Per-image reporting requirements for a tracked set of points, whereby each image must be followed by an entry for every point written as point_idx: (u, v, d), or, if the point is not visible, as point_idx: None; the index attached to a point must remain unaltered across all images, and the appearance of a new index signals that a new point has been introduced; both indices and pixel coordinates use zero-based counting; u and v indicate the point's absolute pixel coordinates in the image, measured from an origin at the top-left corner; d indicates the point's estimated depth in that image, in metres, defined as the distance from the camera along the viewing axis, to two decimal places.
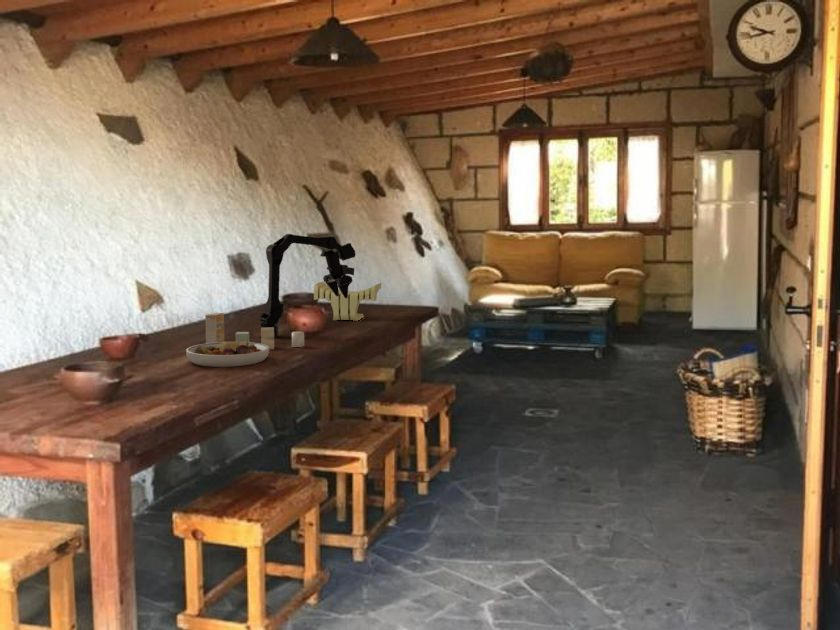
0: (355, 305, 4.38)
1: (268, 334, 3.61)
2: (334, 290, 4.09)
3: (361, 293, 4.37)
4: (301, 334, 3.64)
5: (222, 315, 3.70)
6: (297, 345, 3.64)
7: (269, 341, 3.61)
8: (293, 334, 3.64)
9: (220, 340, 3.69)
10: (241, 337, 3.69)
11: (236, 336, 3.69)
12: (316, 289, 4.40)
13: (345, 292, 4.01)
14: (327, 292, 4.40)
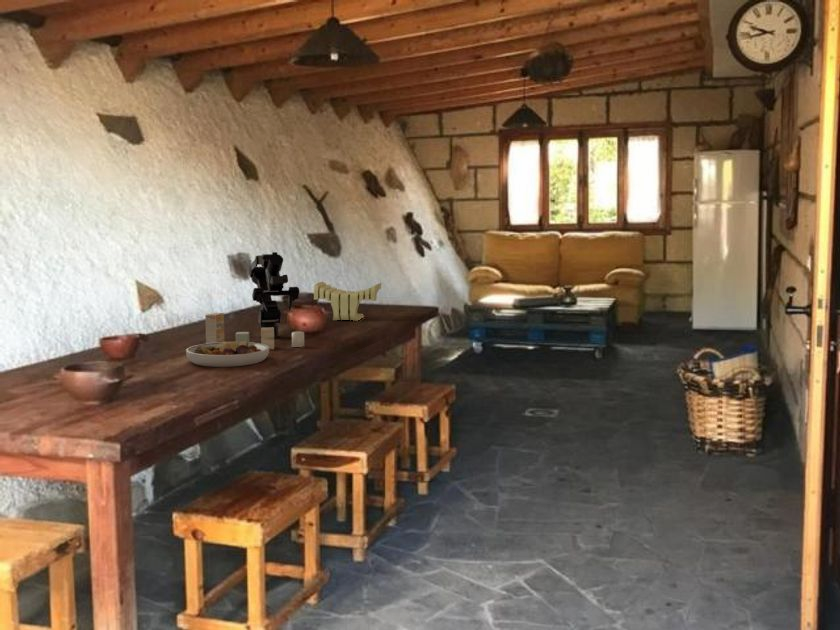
0: (355, 305, 4.38)
1: (268, 334, 3.61)
2: (288, 305, 3.74)
3: (361, 293, 4.37)
4: (301, 334, 3.64)
5: (222, 315, 3.70)
6: (297, 345, 3.64)
7: (269, 341, 3.61)
8: (293, 334, 3.64)
9: (220, 340, 3.69)
10: (241, 337, 3.69)
11: (236, 336, 3.69)
12: (316, 289, 4.40)
13: (264, 305, 3.70)
14: (327, 292, 4.40)
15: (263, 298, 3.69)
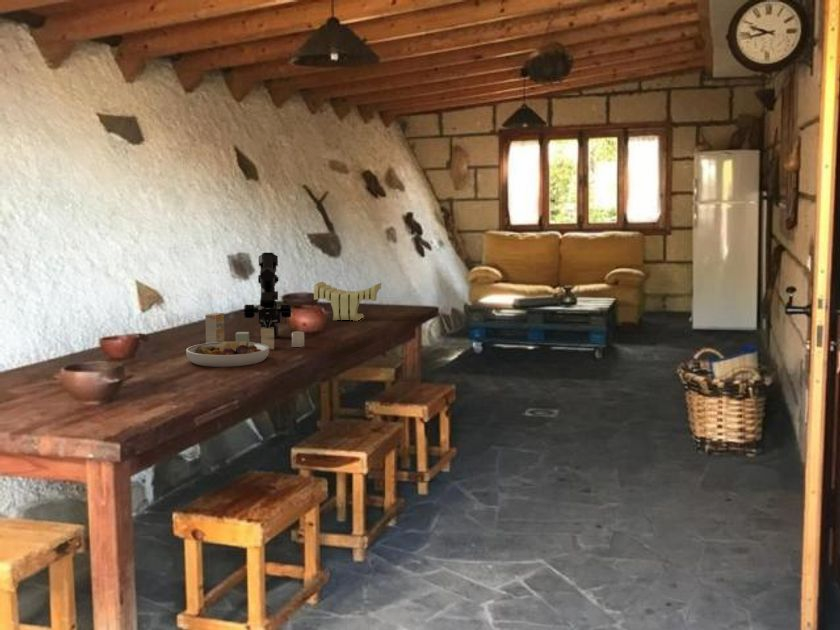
0: (355, 305, 4.38)
1: (268, 334, 3.60)
2: None
3: (361, 293, 4.37)
4: (301, 334, 3.64)
5: (222, 315, 3.70)
6: (297, 345, 3.64)
7: (269, 341, 3.61)
8: (293, 334, 3.64)
9: (220, 340, 3.69)
10: (241, 337, 3.69)
11: (236, 336, 3.69)
12: (316, 289, 4.40)
13: (264, 322, 3.64)
14: (327, 292, 4.40)
15: (264, 315, 3.64)
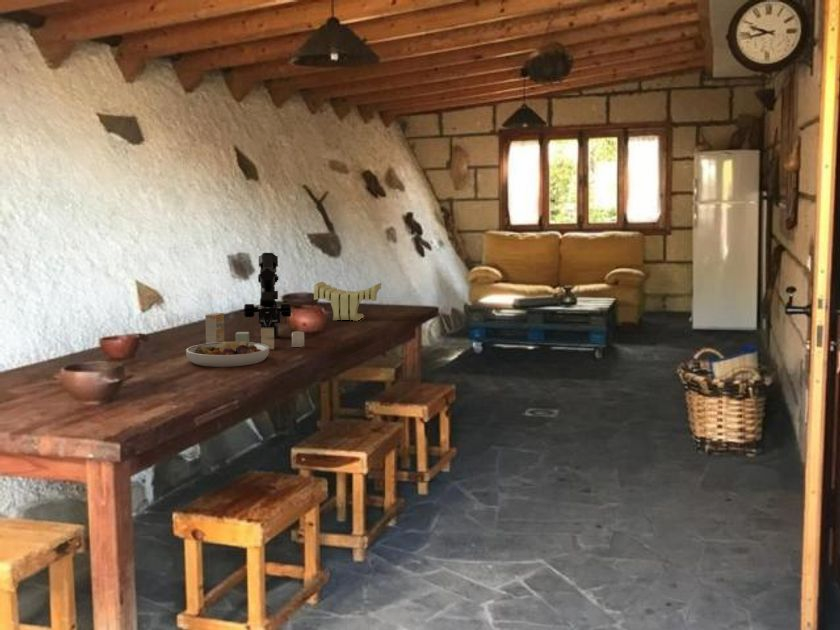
0: (355, 305, 4.38)
1: (268, 334, 3.61)
2: None
3: (361, 293, 4.37)
4: (301, 334, 3.64)
5: (222, 315, 3.70)
6: (297, 345, 3.64)
7: (269, 341, 3.61)
8: (293, 334, 3.64)
9: (220, 340, 3.69)
10: (241, 337, 3.69)
11: (236, 336, 3.69)
12: (316, 289, 4.40)
13: (264, 321, 3.65)
14: (327, 292, 4.40)
15: (264, 314, 3.65)
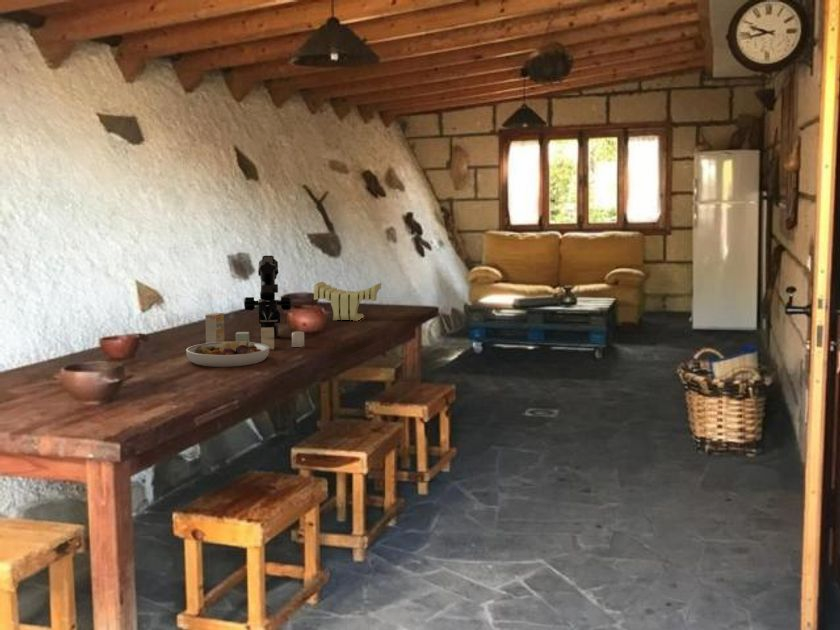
0: (355, 305, 4.38)
1: (268, 334, 3.61)
2: None
3: (361, 293, 4.37)
4: (301, 334, 3.64)
5: (222, 315, 3.70)
6: (297, 345, 3.64)
7: (269, 341, 3.61)
8: (293, 334, 3.64)
9: (220, 340, 3.69)
10: (241, 337, 3.69)
11: (236, 336, 3.69)
12: (316, 289, 4.40)
13: (264, 314, 3.68)
14: (327, 292, 4.40)
15: (264, 307, 3.68)
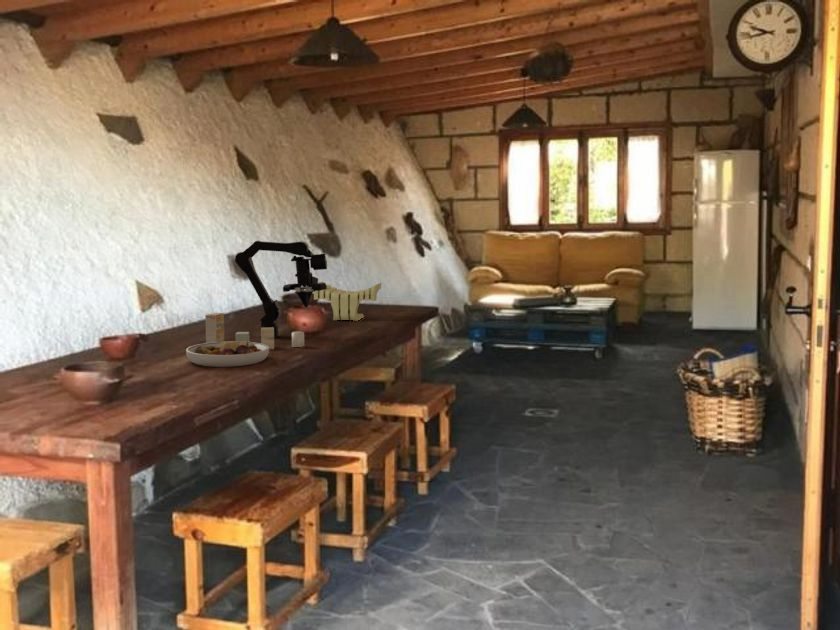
0: (355, 305, 4.38)
1: (268, 334, 3.61)
2: None
3: (361, 293, 4.37)
4: (301, 334, 3.64)
5: (222, 315, 3.70)
6: (297, 345, 3.64)
7: (269, 341, 3.61)
8: (293, 334, 3.64)
9: (220, 340, 3.69)
10: (241, 337, 3.69)
11: (236, 336, 3.69)
12: None
13: (308, 300, 3.89)
14: (327, 292, 4.40)
15: None
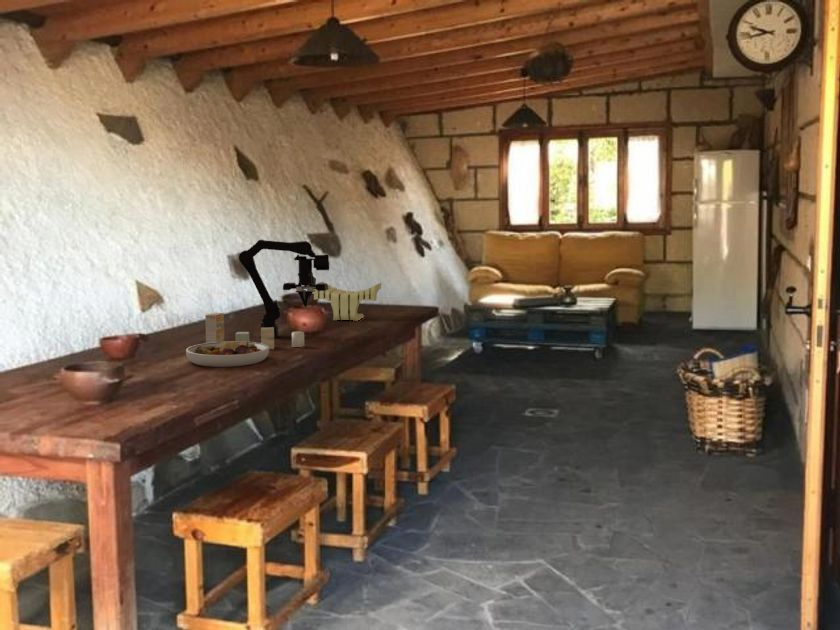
0: (355, 305, 4.38)
1: (268, 334, 3.61)
2: None
3: (361, 293, 4.37)
4: (301, 334, 3.64)
5: (222, 315, 3.70)
6: (297, 345, 3.64)
7: (269, 341, 3.61)
8: (293, 334, 3.64)
9: (220, 340, 3.69)
10: (241, 337, 3.69)
11: (236, 336, 3.69)
12: None
13: (308, 300, 3.91)
14: (327, 292, 4.40)
15: None
